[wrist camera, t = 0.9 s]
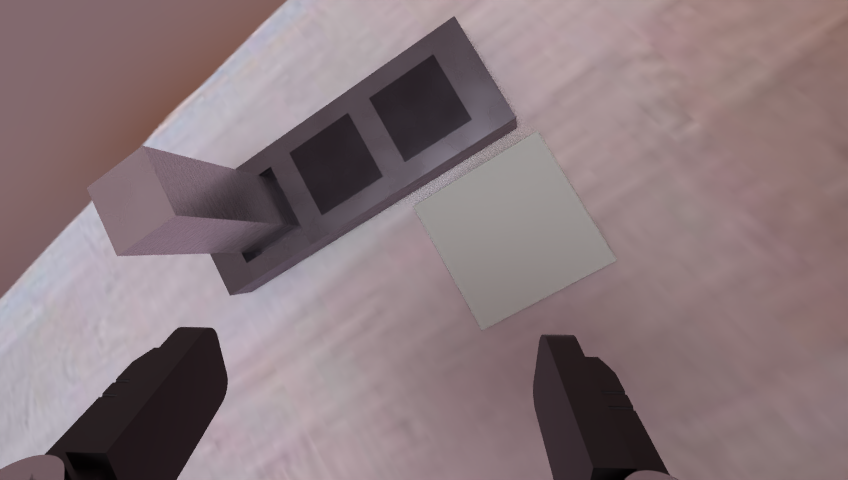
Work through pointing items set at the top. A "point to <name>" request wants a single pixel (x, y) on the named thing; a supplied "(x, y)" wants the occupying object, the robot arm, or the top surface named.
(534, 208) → the mat
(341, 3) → the top surface
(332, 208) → the dark grey slotted tray
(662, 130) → the top surface
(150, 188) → the steel plug
